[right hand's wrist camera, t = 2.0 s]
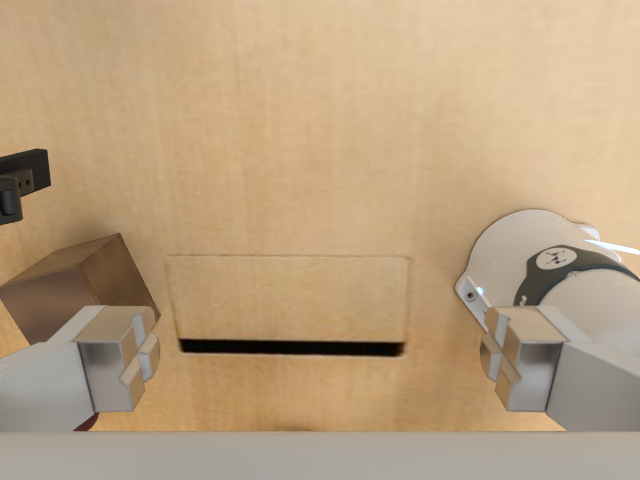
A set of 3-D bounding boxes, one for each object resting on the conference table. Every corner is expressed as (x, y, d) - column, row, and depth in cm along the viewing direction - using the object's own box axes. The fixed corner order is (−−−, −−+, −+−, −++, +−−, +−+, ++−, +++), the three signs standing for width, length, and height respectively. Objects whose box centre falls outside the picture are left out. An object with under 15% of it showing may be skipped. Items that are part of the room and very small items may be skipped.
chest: (161, 315, 58) (132, 358, 49) (99, 332, 59) (59, 377, 50) (119, 232, 53) (79, 262, 44) (53, 252, 54) (0, 285, 45)
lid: (135, 365, 49) (100, 420, 41) (63, 384, 50) (15, 440, 42) (79, 263, 44) (27, 302, 36) (0, 285, 45) (-67, 329, 37)
